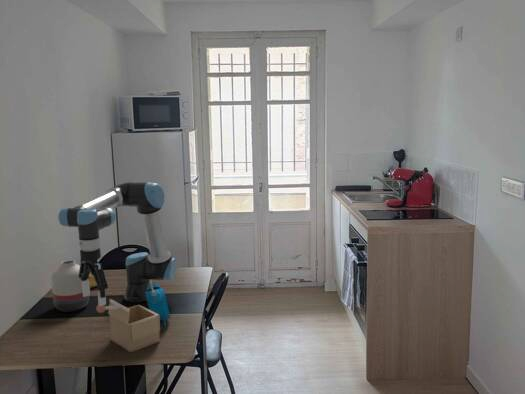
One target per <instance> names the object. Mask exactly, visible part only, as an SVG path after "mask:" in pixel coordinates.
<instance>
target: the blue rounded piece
mask: <svg viewBox="0 0 525 394" xmlns="http://www.w3.org/2000/svg"><path fill="white" fill-rule="evenodd" d="M146 298H147V301H146V302H147V306H148V309H149V310H151V311H153V312H155V313H157V314H159V317H160V321H162V320H163V326H164V327H166V324H167V323H166V319H168V318H170V316H171V315H170V311H169V307H168V301H167V298H166V293H165V290H164V288H161V286H160V285H159V284H158V283H157V282H154V281H152V280H150V284H149V285H148V286H147V292H146Z"/></svg>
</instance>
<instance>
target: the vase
mask: <svg viewBox="0 0 525 394" xmlns="http://www.w3.org/2000/svg"><path fill="white" fill-rule="evenodd" d="M79 270H80V264H78V263H76V261H75V260H72V259H68V260H64V261H61V264H60V265H59V267H57V268H56V269H54V271H53V272H52V274H51V282H50V283H51V294H52V302H53V305H54V307H55V309H56V310H57V311H59V312H63V313H65V312H66V313H70V312H77V311H80V310H82V309H84V308H86V306H87V305H88V303H89V301H90V295H89V296H86V297H83V290H82V281H81V278H79ZM81 275H82V274H81ZM87 280H88V279H87Z"/></svg>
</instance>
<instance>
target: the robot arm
mask: <svg viewBox="0 0 525 394" xmlns="http://www.w3.org/2000/svg"><path fill="white" fill-rule="evenodd" d="M164 204H165V192H164V188H163V187H162V186H161V185H160V184H159V183H156V182H152V181H151V182H150V181H149V182H133V181H131V182H130V181H128V182H124V183H120V184H116V185H115V186H112V187H109V188H108V189H107V190H105V192H104V193H102V194H100V195H99V196H95V197H94V198H92V199H90V200H87V201H86V202H83V203H81V204H79V205H77V206H74V207H63V208H62V209H60V211H59V213H58V222H59V224H60V225H62V226H63V227H67V228H68V227H69V228H71V227H73V228H77V232H78V241H79V242H78V246H79V250H80V251H79V256H80V264H79V265H80V270H79V278H81V281H82V290H83V297H86V296H89V297H90V296H91V290H90V289H91V288H90V286H89V280H87V279H89V274H90V273H91V275H93V276H94V279H95V281H96V284H97V286H96V287H97V289H96V290H97V291H96V292H97V301H98V305H99V306H102V305H105V306H106V305H107V297H106V296H107V295H106V289H108V288H109V286H108V285H109V284H108V283H107V278H106V274H105V272H104V267H103V264H102V263H98V262H99V261H98V260H99V259H100V258H101V257H102V255H101V240H100V231H101V230H103V229H105V228H107V227H110V226H111V225H113V224H114V223H115V222H116V219H117V217H116V212H115V211H114V210H113V209H117V208H120V207H134V208H135V207H136V211H137V213H138V214H140V215H141V219H142V222H143V228H144V232H145V236H146V241H147V245H148V251H149V253H148V252H146V251H145V252H143V251H142V252H137V253H136V252H135V253H133V254H130V255H128V256H127V257H126V258H125V271H126V272H125V274H126V287H125V291H124V300H125V301H126V302H129V303H142V302H147V298H146V292H147V286H148V285H149V284H150V281H152V280H153V281H154V280H155V281H164V282H165V281H172V280H173V279H174V278H175V275H176V273H177V270H178V259H177V258H175V257H172V253H171V251H169V250H168V248H167V243H166V242H167V241H166V237H165V233H164V228H163V222H162V217H161V213H160V211H161V210H162V208H163V206H164ZM81 274H82V275H81Z"/></svg>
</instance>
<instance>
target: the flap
mask: <svg viewBox="0 0 525 394" xmlns="http://www.w3.org/2000/svg"><path fill="white" fill-rule="evenodd" d="M95 310H96V312H98V313H99V314H102V313H105V311H106V310H108V311H107V312H108V313H107V314H108V315H109V314H110V315H111V316H113V317H115V318H116V319H118V320H120V321H122V322H123V323H125V324H128V321H129V314H130V309H129V307H127V306H125V305H123V304H121V303H119V302H118V301H116V300H114V299H112V298H109V305H106V304H105V305H102V306H99V304H97V305H96V309H95Z"/></svg>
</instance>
